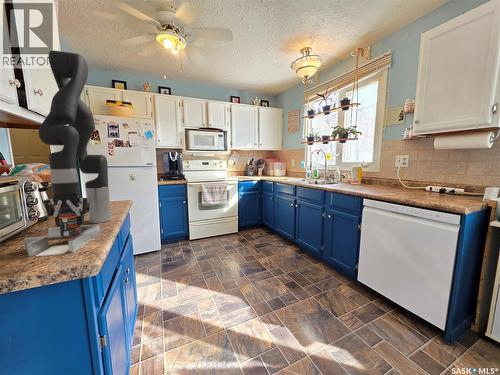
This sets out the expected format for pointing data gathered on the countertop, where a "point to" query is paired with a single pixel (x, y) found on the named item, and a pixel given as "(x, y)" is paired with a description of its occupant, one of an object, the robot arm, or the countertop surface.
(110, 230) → the countertop surface
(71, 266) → the countertop surface
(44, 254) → the pad
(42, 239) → the grey angled wall frame
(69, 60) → the robot arm
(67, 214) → the supplement bottle
